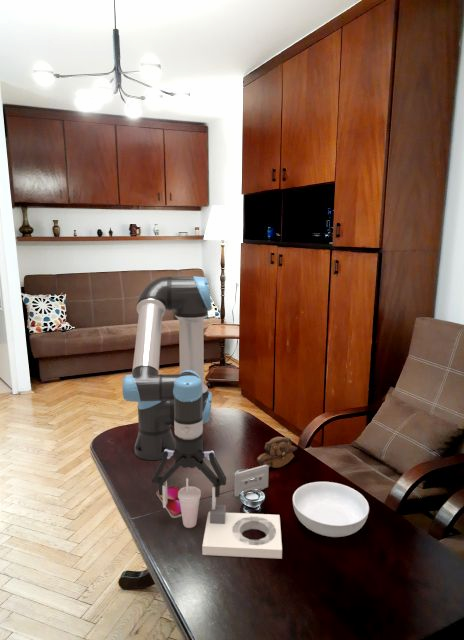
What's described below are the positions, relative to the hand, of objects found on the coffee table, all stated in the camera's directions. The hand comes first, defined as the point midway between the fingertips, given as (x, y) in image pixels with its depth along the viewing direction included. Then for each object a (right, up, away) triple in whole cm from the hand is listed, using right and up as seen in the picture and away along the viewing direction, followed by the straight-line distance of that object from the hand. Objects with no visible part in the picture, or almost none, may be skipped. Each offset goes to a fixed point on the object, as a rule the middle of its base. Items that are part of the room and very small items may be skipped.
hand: (189, 505), depth 124 cm
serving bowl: (+39, -6, +2) cm, 40 cm away
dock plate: (+15, -7, -4) cm, 17 cm away
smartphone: (-5, -4, +12) cm, 13 cm away
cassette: (+18, -3, +17) cm, 25 cm away
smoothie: (0, -6, +1) cm, 6 cm away
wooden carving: (+28, 0, +32) cm, 43 cm away
